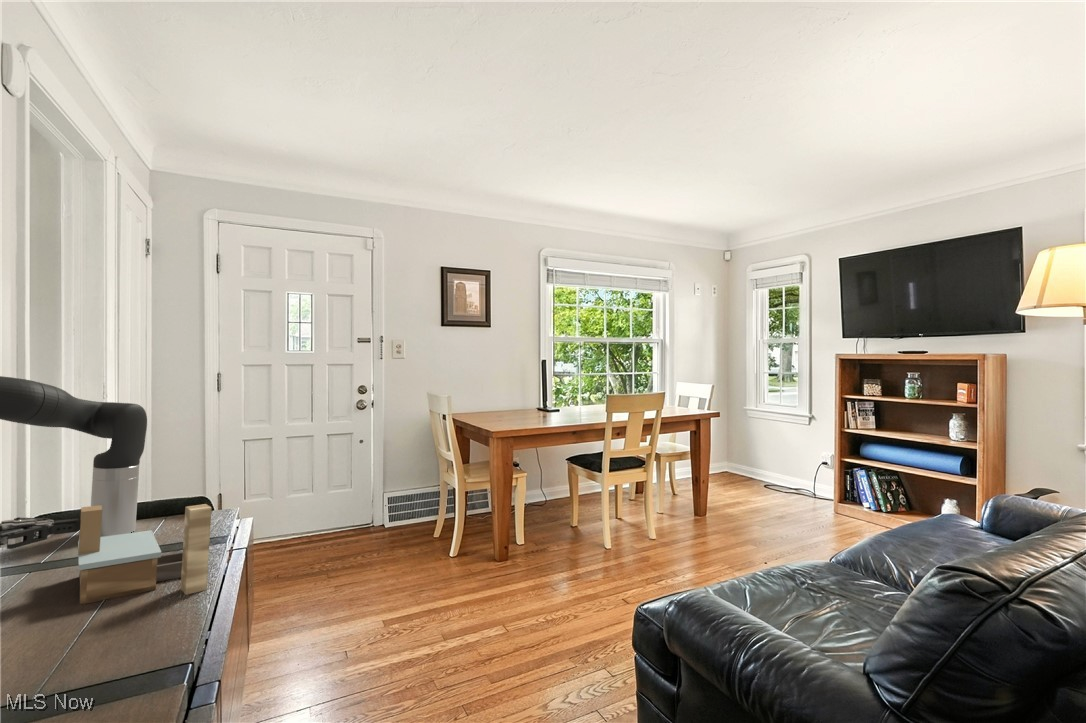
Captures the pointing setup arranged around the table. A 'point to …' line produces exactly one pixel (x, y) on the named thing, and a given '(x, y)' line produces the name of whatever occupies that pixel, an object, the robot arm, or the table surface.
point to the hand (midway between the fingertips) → (80, 524)
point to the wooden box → (127, 577)
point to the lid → (111, 543)
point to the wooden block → (195, 548)
